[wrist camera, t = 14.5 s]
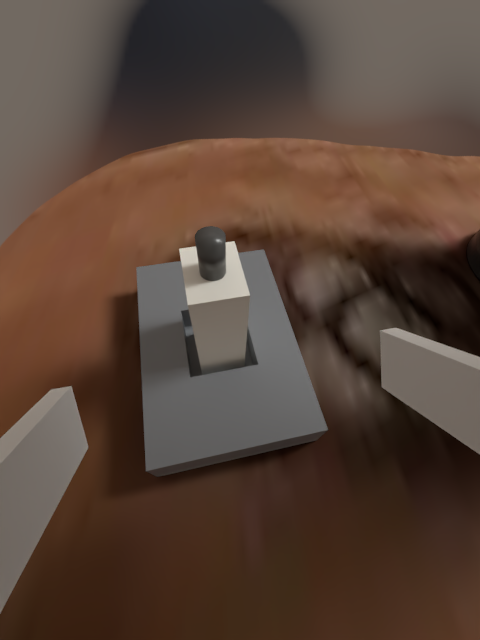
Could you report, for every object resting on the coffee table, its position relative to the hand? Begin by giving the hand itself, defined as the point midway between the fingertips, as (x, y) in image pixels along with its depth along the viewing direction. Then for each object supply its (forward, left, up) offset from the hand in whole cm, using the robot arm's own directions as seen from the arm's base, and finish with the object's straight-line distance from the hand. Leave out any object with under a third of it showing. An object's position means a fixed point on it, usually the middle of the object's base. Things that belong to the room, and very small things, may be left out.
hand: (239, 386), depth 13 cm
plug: (-5, -8, -15) cm, 18 cm away
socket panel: (-5, -8, -16) cm, 19 cm away
